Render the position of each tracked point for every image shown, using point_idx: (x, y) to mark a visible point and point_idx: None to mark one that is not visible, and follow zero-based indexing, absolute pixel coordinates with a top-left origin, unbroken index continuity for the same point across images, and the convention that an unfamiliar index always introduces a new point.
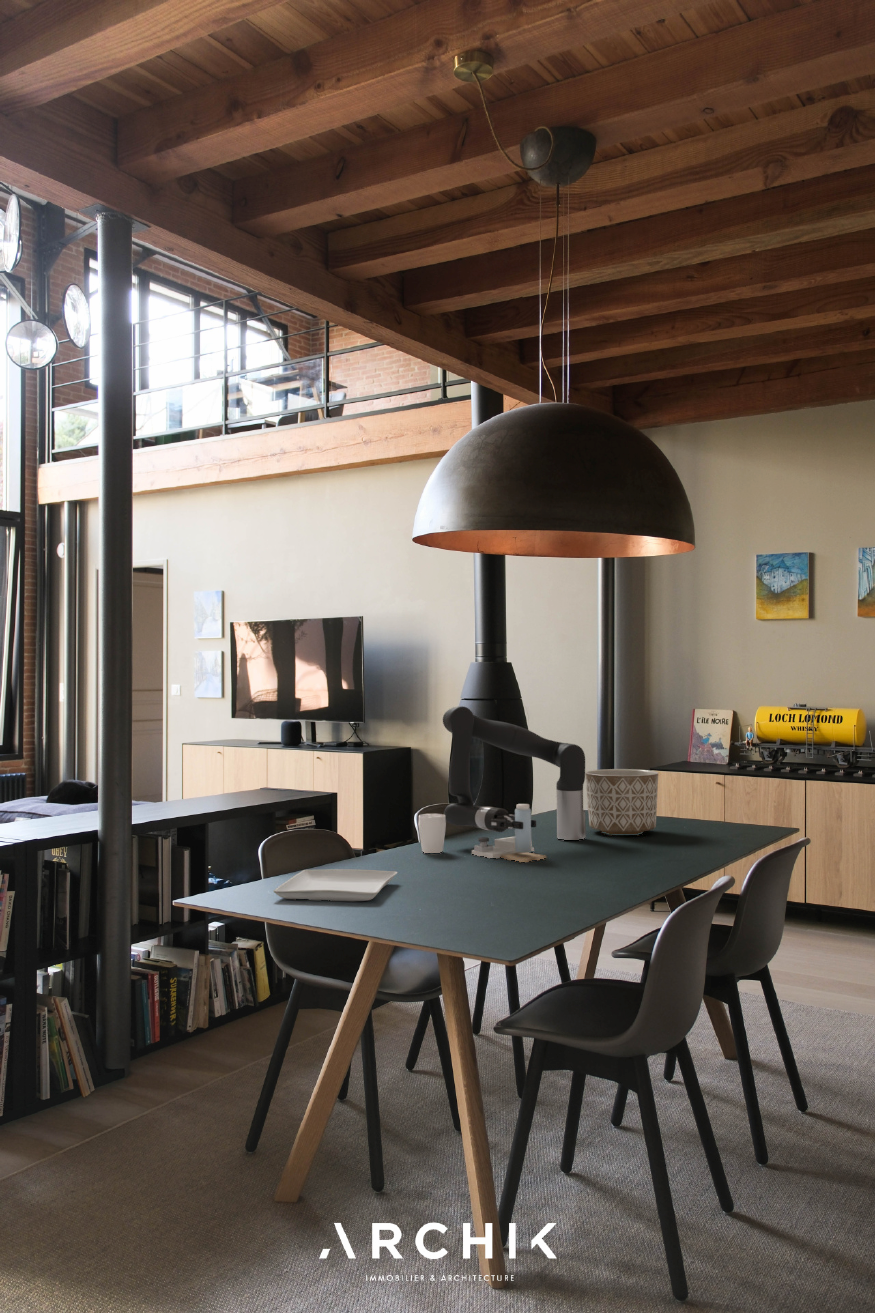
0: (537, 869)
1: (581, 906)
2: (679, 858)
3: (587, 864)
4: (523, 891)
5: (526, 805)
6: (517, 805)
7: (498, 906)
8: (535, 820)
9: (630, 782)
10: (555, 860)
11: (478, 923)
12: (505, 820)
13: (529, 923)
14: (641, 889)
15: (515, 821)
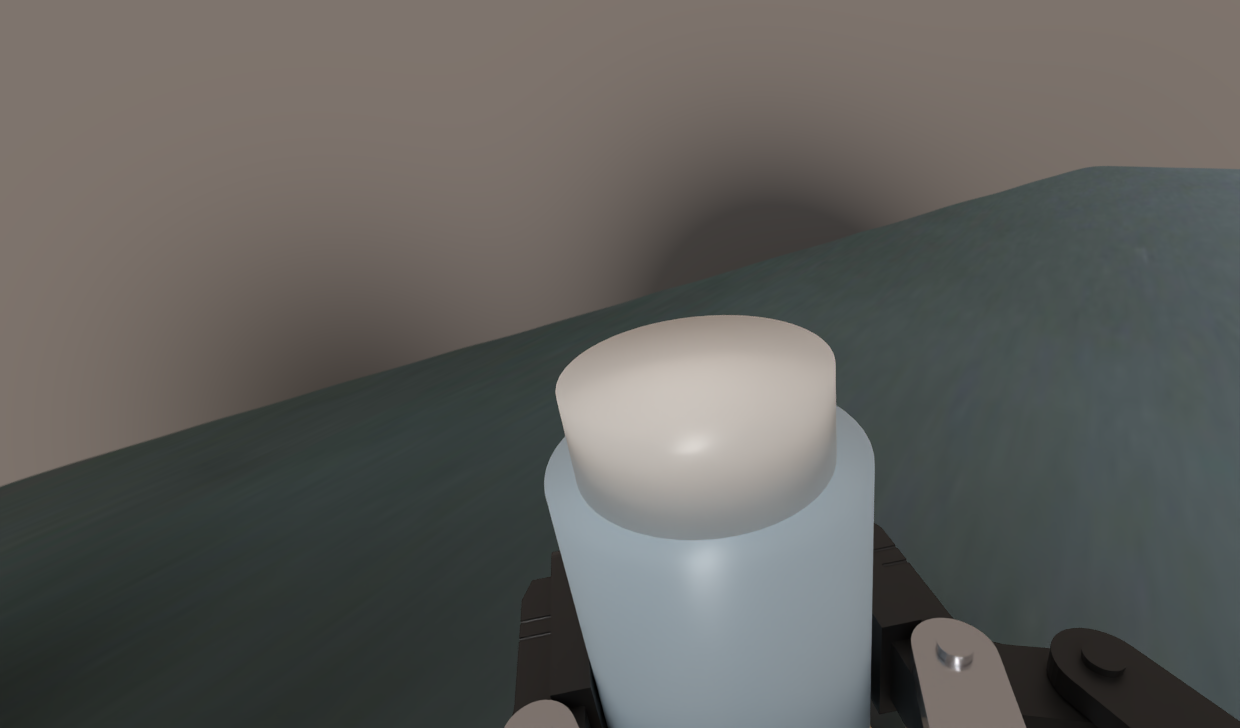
0: None
1: (891, 245)
2: (158, 487)
3: (519, 516)
4: (1016, 304)
5: (684, 320)
6: (829, 358)
7: (1119, 245)
8: (554, 553)
9: None
10: None
11: (1171, 203)
12: (1116, 647)
13: (1042, 207)
14: (676, 295)
15: (891, 578)
